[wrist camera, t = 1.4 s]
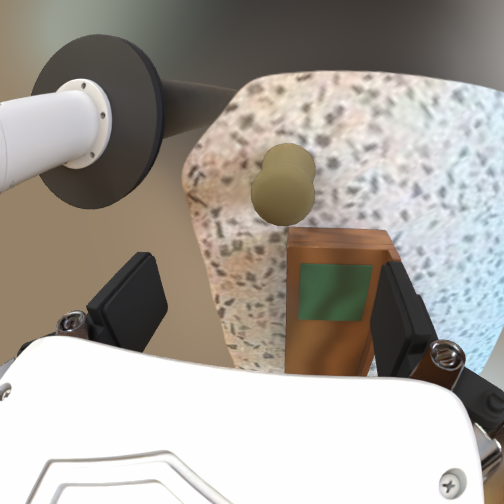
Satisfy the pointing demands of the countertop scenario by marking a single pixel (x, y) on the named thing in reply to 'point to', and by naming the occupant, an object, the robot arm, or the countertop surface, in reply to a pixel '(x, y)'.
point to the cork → (284, 185)
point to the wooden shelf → (332, 298)
